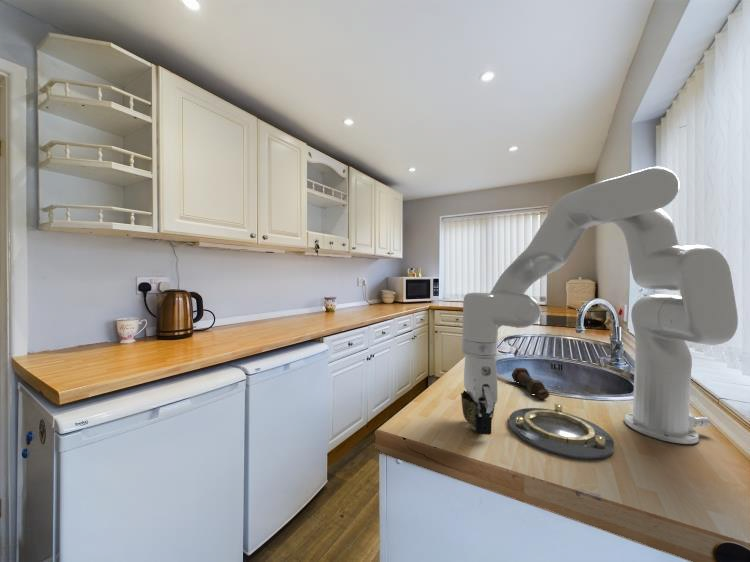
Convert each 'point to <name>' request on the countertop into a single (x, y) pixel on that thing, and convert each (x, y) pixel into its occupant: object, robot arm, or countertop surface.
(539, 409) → the carrier plate
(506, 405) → the countertop surface
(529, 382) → the bolt
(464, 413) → the dark hollow rounded piece
